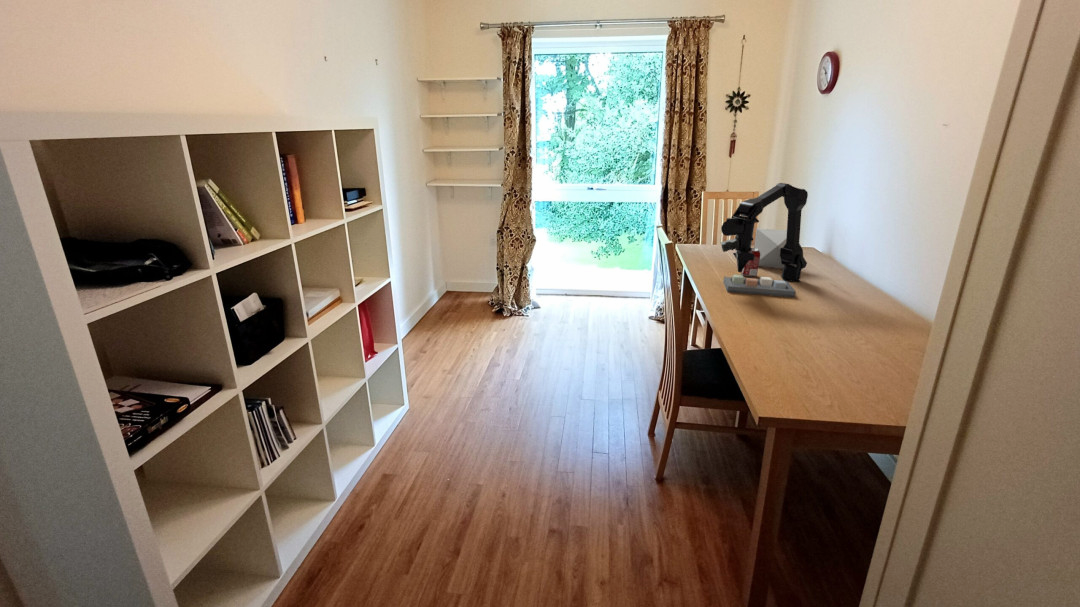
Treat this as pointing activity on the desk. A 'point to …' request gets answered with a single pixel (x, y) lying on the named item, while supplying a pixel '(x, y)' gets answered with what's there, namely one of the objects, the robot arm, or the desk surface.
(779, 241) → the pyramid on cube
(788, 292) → the keypad board
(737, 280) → the key sage
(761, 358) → the desk surface
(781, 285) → the key slate
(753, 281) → the key terracotta
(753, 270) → the soda can
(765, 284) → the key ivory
